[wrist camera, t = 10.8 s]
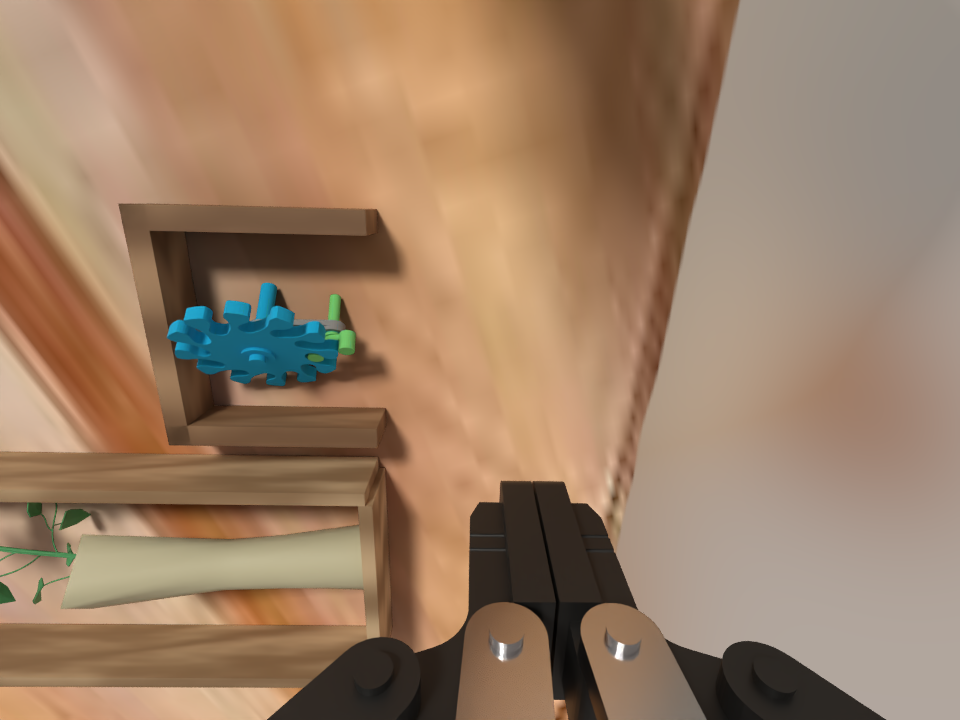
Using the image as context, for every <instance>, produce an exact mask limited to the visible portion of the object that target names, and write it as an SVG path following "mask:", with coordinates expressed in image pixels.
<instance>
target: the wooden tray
mask: <svg viewBox="0 0 960 720" xmlns="http://www.w3.org/2000/svg"><path fill="white" fill-rule="evenodd" d="M0 502H40V503H128V504H215V505H302V506H358V516H359V530H360V545H361V559H362V573H363V588H364V602H365V616H366V626H297V625H137V624H0V687H255V688H304V687H305V686H306V685H307V684H309V683H310V682H311V681H312V680H313V679H314V678H315V677H317V676H318V675H319V674H320V673H321V672H322V671H323V670H325V669H326V668H327V667H328V666H329V665H330V664H331V663H333V662H334V661H335V660H336V659H337V658H338V657H339V656H341V655H342V654H343V653H344V652H345V651H347V650H348V649H349V648H350V647H352V646H354V645H355V644H357V643H359V642H361V641H364V640H367V639H371V638H376V637H389V638H390V636H391V631H392V606H391V585H390V563H389V542H388V520H387V499H386V478H385V468H379V462H378V457H347V456H273V455H200V454H127V453H54V452H0Z"/></svg>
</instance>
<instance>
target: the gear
mask: <svg viewBox="0 0 960 720" xmlns="http://www.w3.org/2000/svg"><path fill="white" fill-rule="evenodd" d="M276 294H277V287H276V286H275V285H274V284H272V283H263V284H262V285H261V291H260V297H259V303H258V309H257V315H256V319H255V320H252V321H249V318H250V313H251V305H250V304H248V303H244V302H239V301H229V300H228V301H226V304H225V309H224V314H223V317H224V319H226V320H227V321H228V323H227V324H221V323H217V322H215V321H213V320H212V315H213V311H212V310H211V309H210V308H208V307H206V306H196V307H190V308H187V309H186V313H185V317H184V321H183V320H177V321H175V322H173V323H172V324H171V325H170V327H169V331H168V335H167V339H169V340H171V341H174V342H177V344H176V348H175V356H176V357H177V358H179V359H198V363H197V369H199V370H200V371H201V372H203V373H205V374H216V373H218V372H220V371H224V370H232V371H231V377H230V379H231V380H233V381H236V382H239V383H244V384H247V383H249V382H250V381H251V378H252V377H254V376H256V375H259V374H263V373H267V380H266V384H268V385H275V386H284V385H285V383H286V375H287V373H286V372H287V371H293V372H297V380H298V381H299V382H312V381H316V374H317V371H319V372H321V373H329V372H332V371H334V370H335V369H336V361H337V356H338V352H339V353H341V354H344V355H351V354H354V352H355V338H356V334H355V332H353V331H351V330H346V326H345V324H344V323H342V322H340V321H339V318H340V304H341V297H340V296H339V295H336V294H333V295H331V296H330V304H329V316H328V320H298V319H294V316H295V313H293V312H292V311H290V310H288V309H286V308H283V307H280V306H275V300H276ZM196 329H197V330H196ZM198 330H200V331H201V332H200V331H198ZM308 364H311V365H314V366H315V367H316V368H315V367H313V366H310V365H308Z"/></svg>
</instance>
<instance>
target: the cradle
mask: <svg viewBox="0 0 960 720" xmlns="http://www.w3.org/2000/svg"><path fill="white" fill-rule="evenodd" d="M119 209H120V214H121V218H122V223H123V228H124V233H125V237H126V242H127V247H128V252H129V256H130V261H131V266H132V271H133V275H134V280H135V285H136V290H137V294H138V299H139V304H140V309H141V314H142V318H143V323H144V328H145V333H146V337H147V342H148V347H149V352H150V356H151V361H152V366H153V371H154V375H155V380H156V385H157V390H158V394H159V399H160V404H161V409H162V413H163V418H164V423H165V428H166V433H167V437H168V442H169V445H191V446H263V447H334V448H378V446H379V443H380V440H381V438H382V435H383V433H384V430H385V428H386V408H347V407H284V406H221V405H214V402H213V396H212V391H211V385H210V379H209V374H205V373H203V372H201V371H200V370H199V369H197V363H198V359H179V358H177V357H176V356H175V348H176V344H177V342H174V341H171V340H169V339H167V335H168V331H169V327H170V325H171V324H172V323H173V322H175V321H177V320H183V321H184V317H185V313H186V309H187V308H190V307H196V306H197V303H196V297H195V291H194V285H193V279H192V273H191V268H190V262H189V256H188V250H187V244H186V238H185V232H184V231H186V232H229V233H272V234H314V235H357V236H367V235H371V234H374V233H378V227H377V209H343V208H302V207H262V206H221V205H180V204H119ZM196 330H197V329H196ZM198 331H200V330H198ZM200 332H201V331H200Z"/></svg>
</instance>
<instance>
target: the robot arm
mask: <svg viewBox="0 0 960 720" xmlns="http://www.w3.org/2000/svg"><path fill="white" fill-rule="evenodd" d="M554 700H565V702H566V708H567V713H568V719H569V720H886V719H884V718H883V717H881V716H880V715H878V714H877V713H875V712H874V711H872V710H871V709H869V708H867V707H866V706H864V705H863V704H861V703H860V702H858V701H857V700H855V699H854V698H852V697H851V696H849V695H848V694H846V693H845V692H843V691H842V690H840V689H839V688H837V687H836V686H834V685H833V684H831V683H830V682H828V681H827V680H825V679H824V678H822V677H820V676H819V675H818V674H816V673H815V672H813V671H812V670H810V669H808V668H807V667H805V666H804V665H802V664H801V663H799V662H798V661H796V660H795V659H793V658H792V657H790V656H789V655H787V654H785V653H783V652H782V651H780V650H778V649H776V648H774V647H771V646H769V645H766V644H762V643H758V642H752V641H742V642H738V643H734V644H732V645H731V646H729V647H728V648H727V649H726V651H725V652H724V654H723V658H722V659H720V658H717V657H713V656H710V655H707V654H703V653H700V652H697V651H693V650H690V649H687V648H684V647H681V646H678V645H676V644H674V643H672V642H670V641H668V640H666V639H665V638H664V636H663V634H662V633H661V631H660V629H659V628H658V627H657V626H656V624H655V623H654V622H653V621H652V620H651V619H650V618H648V617H647V616H646V615H645V614H643V613H641V612H640V611H638V609H637V607H636V604H635V602H634V599H633V596H632V594H631V592H630V589H629V587H628V584H627V581H626V579H625V576H624V574H623V571H622V569H621V566H620V564H619V561H618V559H617V556H616V554H615V553H614V549H613V546H612V544H611V541H610V539H609V538H608V534H607V531H606V529H605V526H604V524H603V521H602V519H601V517H600V516H599V515H598V514H597V513H596V512H595V511H594V510H593V509H592V508H591V507H590V506H589V505H588V504H583V503H571V502H570V499H569V496H568V492H567V489H566V486H565V483H564V482H553V481H533V482H531V481H501V483H500V501H499V503H492V502H479V504H478V505H477V507H476V508H475V510H474V511H473V513H472V515H471V516H470V551H469V612H468V616H467V619H466V621H465V623H464V625H463V626H462V628H461V629H460V631H459V632H458V633H457V634H456V635H455V636H454V637H452V638H451V639H450V640H448V641H447V642H445V643H443V644H441V645H439V646H436V647H433V648H430V649H427V650H424V651H421V652H417V653H414V652H413V650H412V649H411V648H410V647H409V646H408V645H406V644H405V643H403V642H402V641H399V640H397V639H393V638H389V637H376V638H371V639H367V640H364V641H361V642H359V643H357V644H355V645H354V646H352V647H350V648H349V649H348V650H347V651H345V652H344V653H343V654H342V655H341V656H339V657H338V658H337V659H336V660H335V661H334V662H333V663H331V664H330V665H329V666H328V667H327V668H326V669H325V670H323V671H322V672H321V673H320V674H319V675H318V676H317V677H315V678H314V679H313V680H312V681H311V682H310V683H309V684H307V685H306V686H305V687H304V688H303V689H302V690H301V691H299V692H298V693H297V694H296V695H295V696H294V697H293V698H291V699H290V700H289V701H288V702H287V703H286V704H285V705H283V706H282V707H281V708H280V709H279V710H278V711H276V712H275V713H274V714H273V715H272V716H271V717H270V718H268V719H267V720H555V711H554Z"/></svg>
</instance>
